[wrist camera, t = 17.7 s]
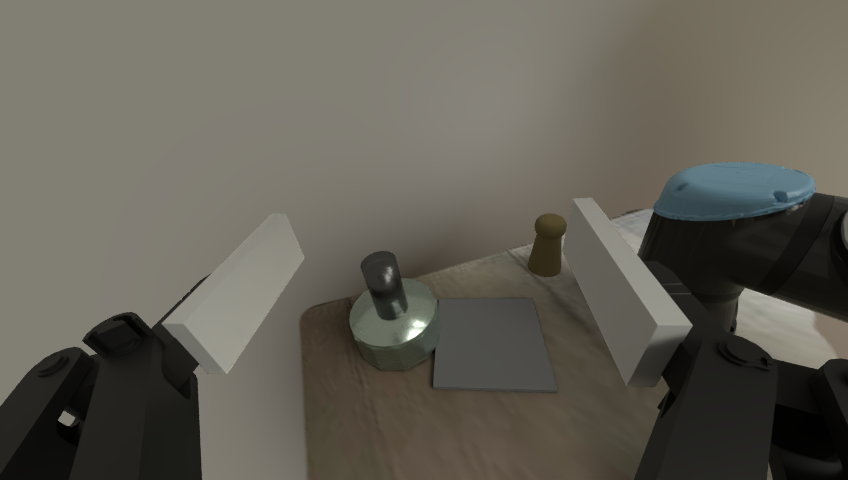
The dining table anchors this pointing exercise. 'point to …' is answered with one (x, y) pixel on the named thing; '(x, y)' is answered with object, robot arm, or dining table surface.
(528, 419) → the dining table surface
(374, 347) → the cover
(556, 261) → the cork
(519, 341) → the mat
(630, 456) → the dining table surface
